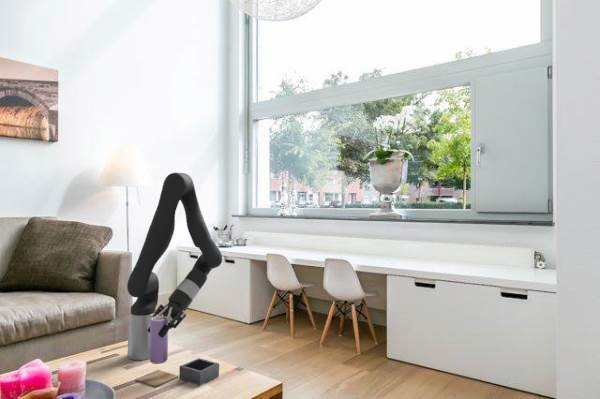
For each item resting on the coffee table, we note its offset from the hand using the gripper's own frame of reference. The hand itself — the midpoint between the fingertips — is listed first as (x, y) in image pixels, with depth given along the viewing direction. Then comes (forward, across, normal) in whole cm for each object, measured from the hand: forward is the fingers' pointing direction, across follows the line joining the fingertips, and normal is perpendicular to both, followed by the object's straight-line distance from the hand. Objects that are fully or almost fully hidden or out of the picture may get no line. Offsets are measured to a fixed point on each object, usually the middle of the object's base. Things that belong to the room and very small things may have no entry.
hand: (154, 334), depth 150 cm
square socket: (+3, +9, +20) cm, 22 cm away
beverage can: (+6, 0, +8) cm, 10 cm away
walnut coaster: (+10, 0, +12) cm, 16 cm away
